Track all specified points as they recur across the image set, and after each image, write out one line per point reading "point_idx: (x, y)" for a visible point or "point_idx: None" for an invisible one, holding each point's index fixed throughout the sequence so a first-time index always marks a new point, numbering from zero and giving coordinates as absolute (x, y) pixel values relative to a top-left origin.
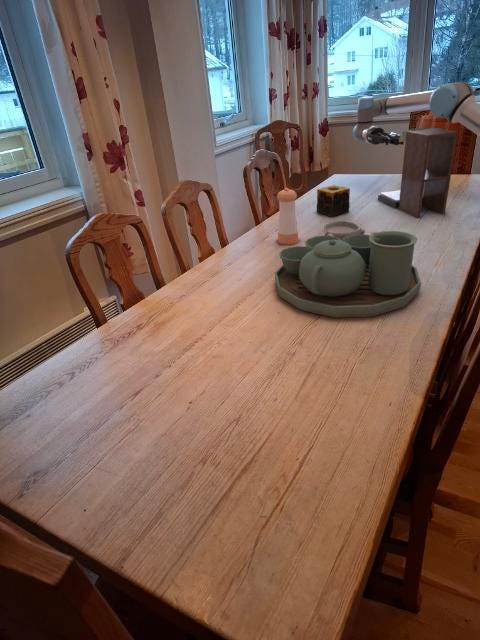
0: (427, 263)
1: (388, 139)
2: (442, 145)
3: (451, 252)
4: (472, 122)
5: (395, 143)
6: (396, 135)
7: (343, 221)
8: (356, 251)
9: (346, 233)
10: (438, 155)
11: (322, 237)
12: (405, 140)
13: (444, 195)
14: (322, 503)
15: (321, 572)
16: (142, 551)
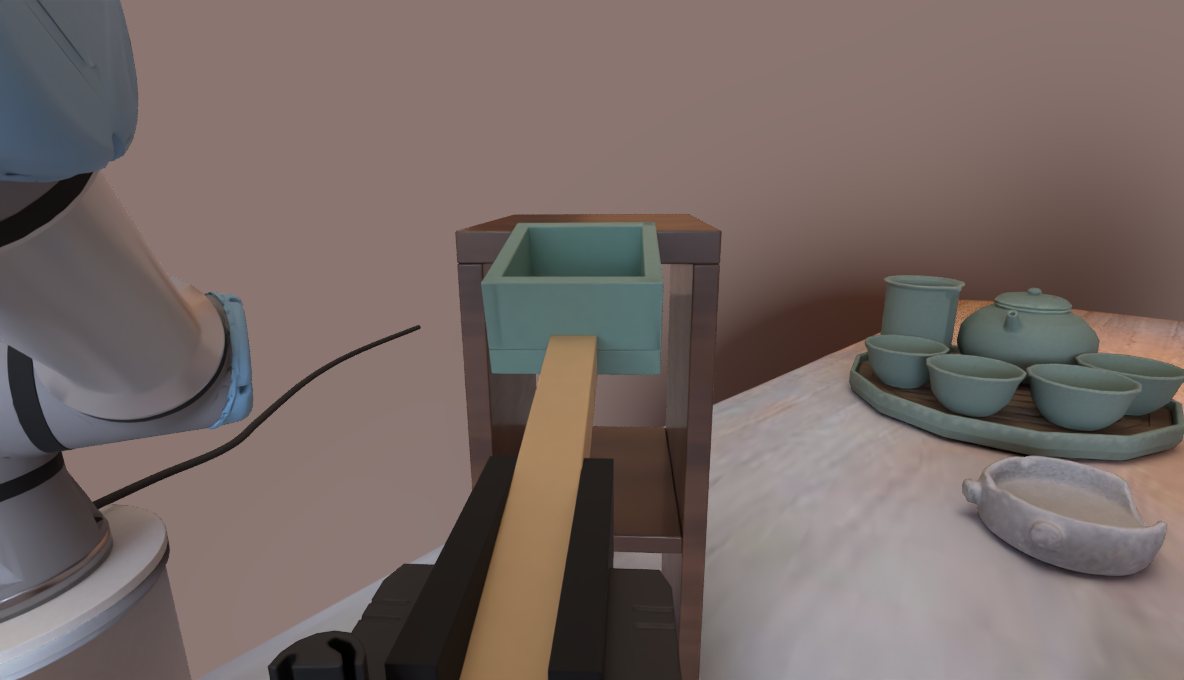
0: (803, 411)
1: (676, 650)
2: None
3: (728, 423)
4: (119, 224)
5: (612, 562)
6: (356, 667)
7: (1076, 519)
8: (982, 369)
9: (1033, 457)
10: (516, 376)
11: (1097, 393)
12: (595, 396)
13: None
14: (972, 311)
15: (968, 304)
16: (1080, 312)
